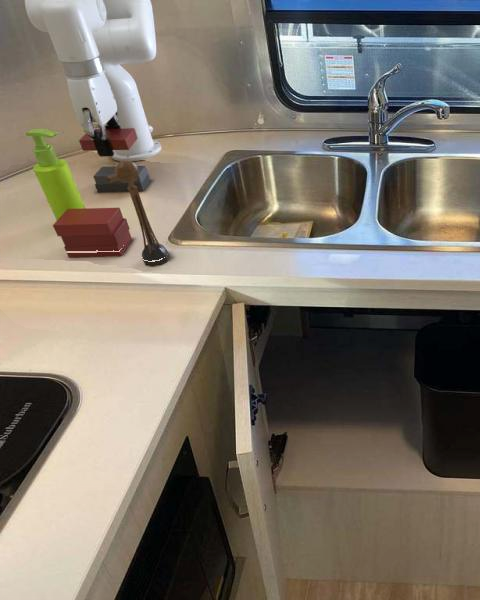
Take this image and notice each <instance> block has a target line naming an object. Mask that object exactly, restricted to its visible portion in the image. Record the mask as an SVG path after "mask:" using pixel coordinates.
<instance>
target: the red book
mask: <svg viewBox="0 0 480 600" xmlns="http://www.w3.org/2000/svg"><path fill="white" fill-rule="evenodd" d="M94 130H97V131H98V132H99V133H100V128H94ZM105 134H106V138H109V141H110V144H111V147H112V150H129V149H130V147H131V146H132V145H133V144H134V142H135V141H136V140H137V139H138V137H137V134H136V131H135V128H124V129H106V128H105ZM78 142H79V145H80V146H81V150H82V151H85V152H88V151H90V152H91V151H92V152H93V151H97V150H96V147H95V144H94V142H93V140H91V137H89V135H88V134H86V133H85V134H84V135H83V136H82V137H81V138H80V139H79V140H78Z"/></svg>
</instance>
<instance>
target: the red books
mask: <svg viewBox="0 0 480 600" xmlns="http://www.w3.org/2000/svg"><path fill="white" fill-rule="evenodd" d="M52 226H53V229H54V232H55V233H56V235H57V237H60V238H61V240H62V243H63V244H64V246H63V248H64V250H65V252H66V251H96V250H98V251H113V250H114V251H119V250H120V249H121V248H122V249H121V250H120V252H97V253H66V255H67V257H68V258H102V257H103V258H105V257H122V255H123V254H124V252H125V251H126V249H127V248H128V247H129V245H130V243H131V242H132V239H133V237H132V234H131V232H130V229H131V228H130V225H129V223H128V220H127V218H125V217H124V216H123V213H122V210H121V208H120V207H89V208H86V207H85V208H84V209H67V210H66V211H65V212H64V213H63V214H62V216H61V217H60V218H59V219H58V220H55V222H54V223H53V224H52ZM123 245H124V246H123Z"/></svg>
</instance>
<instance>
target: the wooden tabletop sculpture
mask: <svg viewBox="0 0 480 600" xmlns="http://www.w3.org/2000/svg"><path fill="white" fill-rule="evenodd" d="M115 166H116V168H115V174H112V175H109V176H107V177H106V178H107V180H108V182H113V181H115V180H119V181H121V182H123V183H128V184H129V187H128V188H127V189H128V190H129V192H128V193H129V195H130V198H131V201H132V203H133V204H132V205H133V206H134V210H135V213H136V216H137V218H138V223H139V226H140V230H141V235H142V240H143V247H144V248H143V249H142V252H141V258H142V257H143V258H142V262H143V263H144V265H145V267H151V268H152V267H158V266H162V265H164V264H166V263H168V262H169V261H170V258H171V255H170V253H169V251H168V250H167V248H166V247H165V245H163V244H161V243H160V242H159V241H158V239H157V237H156V235H155V233H154V231H153V228H152V226H151V224H150V221H149V218H148V216H147V213H146V211H145V208H144V205H143V201H142V199H141V197H140V191H138V190H137V186H135V185H134V184H133V181H135V180H136V179H137V177H138V175H139V170H138V168H137V166H138V165H137V164H136V163H135V161H129V160H123V161H118V163H117V164H116V165H115ZM167 254H168V255H167ZM164 257H165V258H164ZM161 258H163V259H162V260H160V261H155V262H148V261H152V260H159V259H161ZM143 259H144V260H148V261H144V260H143Z"/></svg>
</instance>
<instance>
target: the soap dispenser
mask: <svg viewBox="0 0 480 600" xmlns="http://www.w3.org/2000/svg"><path fill="white" fill-rule="evenodd" d="M25 135H26V136H27V137H32V139H33V142H34V145H35V146H34V147H33V148H32V152H33V154H34V156H35V158H36V161H37V163H36V164H35V165H34V166H33V167H32V168H33V169H32V170H33V172H34V174H35V176H36V178H37V180H38V183H39V186H40V188H41V189H42V191H43V194H44V196H45V198H46V200H47V202H48V205H49V207H50V208H51V211H52V213H53V216H54V217H55V221H57V220H58V219H59V218H60V217H61V216H62V214H63V213H64V212H65V211H66V210H67V209H84V208H86V206H85V204H84V202H83V199H82V196H81V194H80V192H79V189H78V187H77V184H76V182H75V180H74V177H73V174H72V172H71V170H70V167H69V164H68V162H67V160H66V159H62V158H58V156H57V153H56V152H55V149H54V147H53V145H51V144H48V143H46V140H45V138H48V139H51V138H53V137H55V136H57V135H58V132H57V131H54V130H51V129H47V128H46V129H45V128H34V129H31V130H28V131H26V132H25Z"/></svg>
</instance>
